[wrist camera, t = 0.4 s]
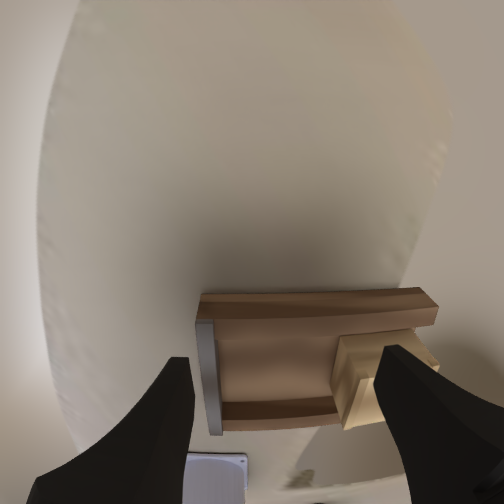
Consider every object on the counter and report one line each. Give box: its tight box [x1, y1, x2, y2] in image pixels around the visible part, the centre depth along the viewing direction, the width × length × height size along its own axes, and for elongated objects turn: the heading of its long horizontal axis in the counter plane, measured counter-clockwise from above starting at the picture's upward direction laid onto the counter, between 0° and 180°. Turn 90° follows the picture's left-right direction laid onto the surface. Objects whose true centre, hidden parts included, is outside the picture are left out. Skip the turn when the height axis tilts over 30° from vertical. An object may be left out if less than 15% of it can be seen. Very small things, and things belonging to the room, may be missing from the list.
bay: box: [195, 287, 439, 436], centre depth 21 cm, size 11×16×4 cm
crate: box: [330, 329, 440, 430], centre depth 20 cm, size 5×6×5 cm
